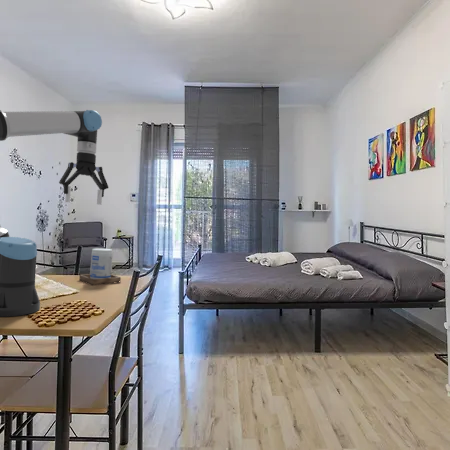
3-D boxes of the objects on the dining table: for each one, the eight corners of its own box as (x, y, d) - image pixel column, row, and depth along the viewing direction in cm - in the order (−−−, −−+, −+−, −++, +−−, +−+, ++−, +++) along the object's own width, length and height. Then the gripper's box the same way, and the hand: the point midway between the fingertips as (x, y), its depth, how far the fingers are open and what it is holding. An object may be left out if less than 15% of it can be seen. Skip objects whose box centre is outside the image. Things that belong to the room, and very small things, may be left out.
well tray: (92, 285, 159) (92, 279, 159) (79, 280, 169) (79, 274, 169) (120, 282, 169) (120, 277, 169) (106, 277, 179) (106, 272, 179)
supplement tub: (88, 281, 163) (90, 249, 163) (91, 277, 172) (92, 247, 172) (110, 281, 165) (111, 250, 165) (111, 277, 175) (113, 248, 174)
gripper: (59, 147, 137) (56, 201, 137) (117, 157, 155) (115, 205, 155) (52, 148, 142) (49, 201, 142) (109, 158, 160) (107, 205, 160)
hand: (83, 203), depth 149 cm, fingers open, 13 cm apart
